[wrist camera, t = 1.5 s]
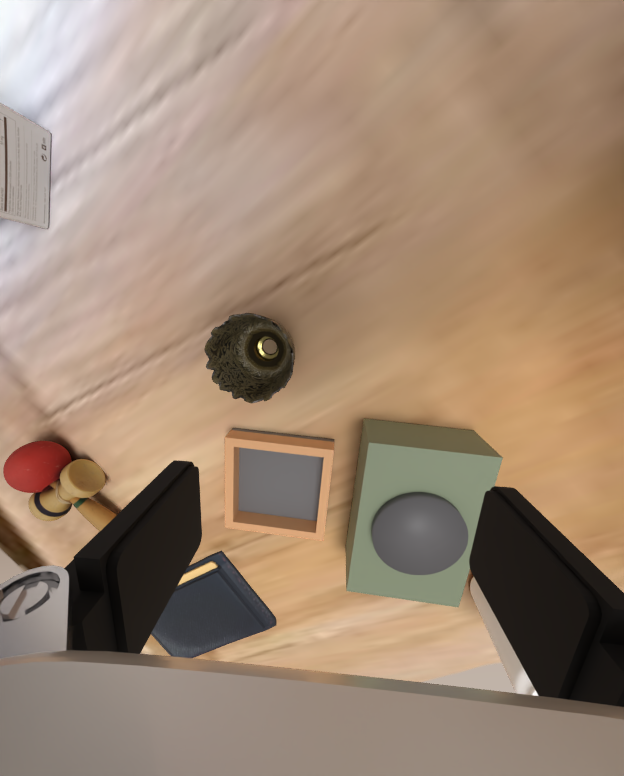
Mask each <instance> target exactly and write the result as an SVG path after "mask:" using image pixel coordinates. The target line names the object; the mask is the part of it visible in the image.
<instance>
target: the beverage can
mask: <svg viewBox="0 0 624 776" xmlns="http://www.w3.org/2000/svg"><path fill="white" fill-rule="evenodd" d="M470 592H471V595H472V597H473V600H474V602H475V604H476V606H477V608H478V611H479V613H480V615H481V617H482V619H483V622H484V624H485V626H486V628H487V630H488V633H489V635H490V637H491V639H492V641H493V644H494V646H495V648H496V650H497V652H498V655H499V657H500V659H501V661H502V664H503V666H504V668H505V670H506V672H507V675H508V677H509V679H510V681H511V683H512V686H513V688H514V690H515V692H516V693H517V694H526V695H534V696H538V694H537V692H536V690H535V689H534V687H533V685H532V683H531V681H530V679H529V678H528V676H527V674H526V672H525V670H524V668H523V666H522V665H521V663H520V661H519V659H518V657H517V655H516V654H515V652H514V650H513V648H512V646H511V644H510V642H509V641H508V639H507V637H506V635H505V633H504V631H503V630H502V628H501V626H500V624H499V622H498V620H497V618H496V617H495V615H494V613H493V611H492V609H491V607H490V606H489V604H488V602H487V600H486V598H485V596H484V594H483V593H482V591H481V589H480V587H479V585H478V583H477V582H476V580H475V578H474V576H473V578H472V580H471V584H470Z"/></svg>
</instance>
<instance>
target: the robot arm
mask: <svg viewBox="0 0 624 776" xmlns="http://www.w3.org/2000/svg"><path fill="white" fill-rule="evenodd" d="M201 537H202V528H201V507H200V486H199V469H198V467H194V464H193V463H192V462H187V461H173V462H172V463H171V464H169V465H168V466H167V467H166V468H165V469H164V470H163V471H162V472H161V473H160V474H159V475H158V476H157V477H156V478H155V479H154V480H153V481H152V482H151V483H150V484H149V485H148V486H147V487H146V488H145V489H144V490H143V491H141V492H140V493H139V494H138V495H137V496H136V497H135V498H134V499H133V500H132V501H131V502H130V503H129V504H128V505H127V506H126V507H125V508H124V509H123V510H122V511H121V512H120V513H119V514H118V515H117V516H116V517H115V518H113V519H112V520H111V521H110V522H109V523H108V524H107V525H106V526H105V527H104V528H103V529H102V530H101V531H100V532H99V533H98V534H97V535H96V536H95V537H94V538H93V539H92V540H91V541H90V542H89V543H88V544H87V545H86V546H84V547H83V548H82V549H81V550H80V551H79V552H78V553H77V554H76V555H75V556H74V560H73V561H72V562H71V563H70V564H68V565H67V566H66V567H65V568H62V567H59V566H42V567H38V568H35V569H31V570H28V571H25V572H23V573H21V574H18V575H16V576H14V577H12V578H10V579H9V580H7V581H5V582H4V583H2V584H0V776H624V593H623V592H622V591H621V590H620V589H619V588H618V587H617V586H616V585H615V584H614V583H613V582H612V581H611V580H610V579H609V578H608V577H606V576H605V575H604V574H603V573H602V572H601V571H600V570H599V569H598V568H597V567H596V566H595V565H594V564H593V563H592V562H591V561H590V560H589V559H588V558H587V557H586V556H585V555H584V554H583V553H582V552H580V551H579V550H578V549H577V548H576V547H575V546H574V545H573V544H572V543H571V542H570V541H569V540H568V539H567V538H566V537H565V536H564V535H563V534H562V533H561V532H560V531H559V530H558V529H557V528H556V527H554V526H553V525H552V524H551V523H550V522H549V521H548V520H547V519H546V518H545V517H544V516H543V515H542V514H541V513H540V512H539V511H538V510H537V509H536V508H535V507H534V506H533V505H532V504H531V503H530V502H529V501H527V500H526V499H525V498H524V497H523V496H522V495H521V494H520V493H519V492H518V491H517V490H516V489H514V488H509V487H496V486H494V487H492V488H491V489H490V491H486V492H485V495H484V499H483V503H482V507H481V512H480V516H479V520H478V524H477V528H476V533H475V537H474V541H473V545H472V549H471V554H470V558H469V565H470V570H471V572H472V574H473V576H474V578H475V580H476V582H477V583H478V585H479V587H480V589H481V591H482V593H483V594H484V596H485V598H486V600H487V602H488V604H489V606H490V607H491V609H492V611H493V613H494V615H495V617H496V618H497V620H498V622H499V624H500V626H501V628H502V630H503V631H504V633H505V635H506V637H507V639H508V641H509V642H510V644H511V646H512V648H513V650H514V652H515V654H516V655H517V657H518V659H519V661H520V663H521V665H522V666H523V668H524V670H525V672H526V674H527V676H528V678H529V679H530V681H531V683H532V685H533V687H534V689H535V690H536V692H537V694H538V696H534V695H526V694H517V693H508V692H499V691H491V690H481V689H474V688H465V687H456V686H448V685H439V684H430V683H421V682H412V681H403V680H394V679H384V678H375V677H366V676H357V675H348V674H338V673H329V672H320V671H310V670H301V669H292V668H282V667H272V666H262V665H252V664H243V663H233V662H223V661H213V660H203V659H193V658H184V657H172V656H160V655H148V654H140V653H141V651H142V649H143V647H144V645H145V643H146V642H147V640H148V638H149V636H150V634H151V633H152V631H153V629H154V627H155V625H156V624H157V622H158V620H159V618H160V616H161V614H162V613H163V611H164V609H165V607H166V605H167V604H168V602H169V600H170V598H171V596H172V595H173V593H174V591H175V589H176V587H177V585H178V584H179V582H180V580H181V578H182V576H183V575H184V573H185V571H186V569H187V567H188V566H189V564H190V562H191V560H192V558H193V557H194V555H195V553H196V551H197V549H198V547H199V545H200V542H201Z"/></svg>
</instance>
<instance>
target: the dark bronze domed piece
mask: <svg viewBox="0 0 624 776" xmlns="http://www.w3.org/2000/svg"><path fill="white" fill-rule="evenodd" d="M211 335H212V337H211V338H210V339H209V340H208V341H207V343H206V346H205V353H206V355H207V356H208V358H209V360H208V362H207V364H206V368H207V369H211V370H214V372H213V374H212V380H213V382H214V383H216V384H219V387H220V390H223V391H227V392H232V396H233V398H234V399H237V398H243V399H244V401H246V402H249V403H255V402H258V401H262V400H264V401H267V400H269V399H270V398H272V396H273V394H275V393H276V392H279V391H280V389H281V388H285V386H286V385H287V383H288V381H289V380H290V378H291V376H292V372H293V365H294V359H295V350H294V344H293V341H292V339H291V337H290V335H289V333H288V332H287V331H286V330H285V329H284V328H283V327H282V326H281V325H280V324H279V323H277V322H275V321H273V320H271V319H269V318H266V317H262V316H259V315H256V314H252V313H245V314H237V315H231V316H229V320H228V321H225V322H224V323H223V324H222V325H221V326H220V327H215V328H214V329H213V330H212V332H211ZM268 339H271V340H274V341H275V342H276V344H277V351H276V352H275V353H274V354H267V353H265V352H264V350H263V348H262V345H263V343H264V341H265V340H268Z"/></svg>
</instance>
